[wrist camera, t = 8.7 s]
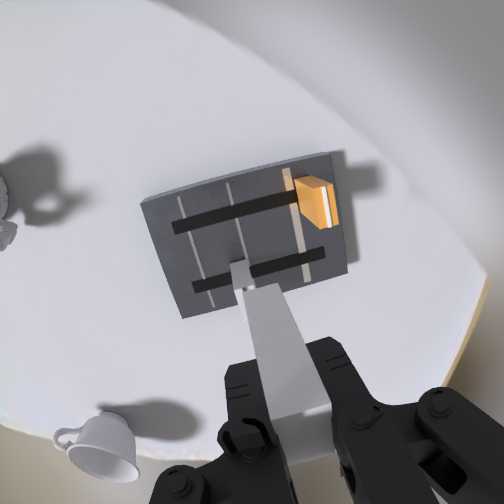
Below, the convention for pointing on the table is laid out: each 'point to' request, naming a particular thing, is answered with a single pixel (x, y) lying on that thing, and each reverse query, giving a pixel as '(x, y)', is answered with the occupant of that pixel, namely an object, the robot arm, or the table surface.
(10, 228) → the mug
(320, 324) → the table surface
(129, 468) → the teacup
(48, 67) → the table surface
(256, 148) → the table surface
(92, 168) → the table surface
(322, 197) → the fader orange
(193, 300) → the console
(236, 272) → the fader white
